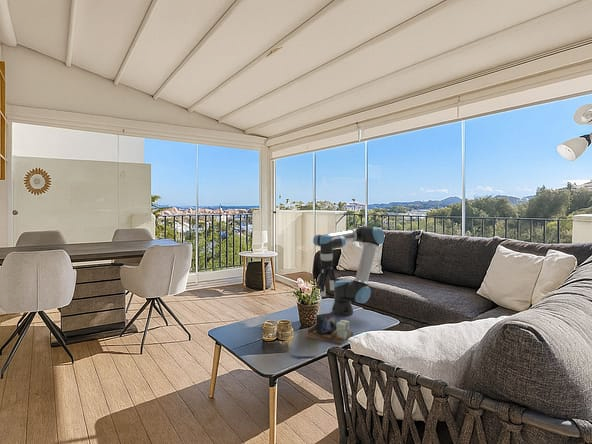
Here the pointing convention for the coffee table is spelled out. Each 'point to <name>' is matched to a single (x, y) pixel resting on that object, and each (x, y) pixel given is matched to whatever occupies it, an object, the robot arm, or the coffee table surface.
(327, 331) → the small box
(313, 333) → the cradle
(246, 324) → the coffee table surface
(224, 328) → the coffee table surface
